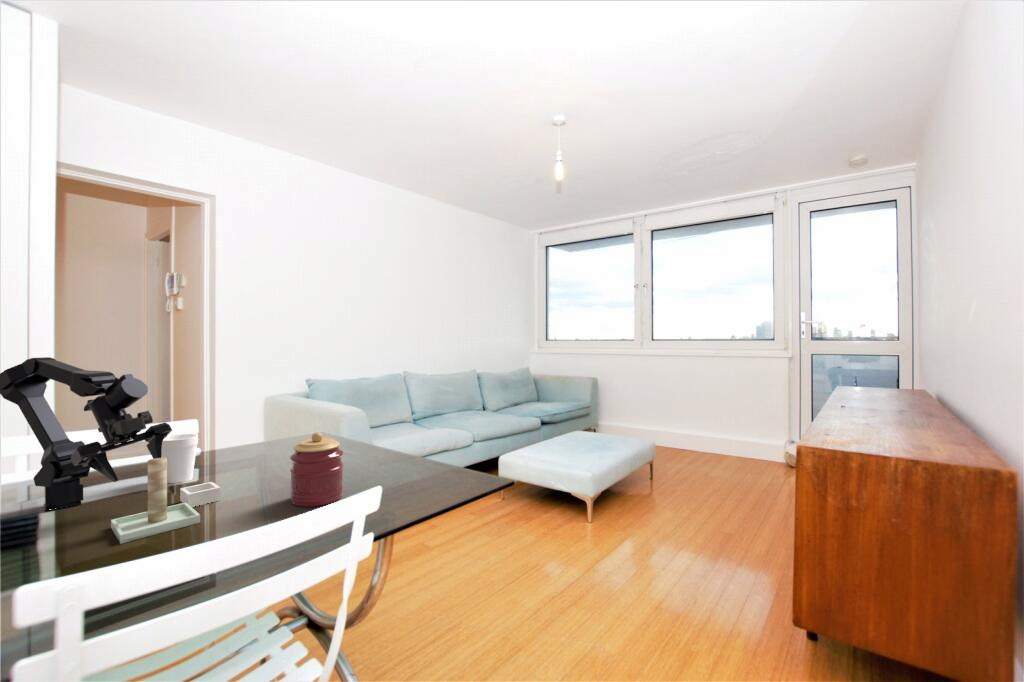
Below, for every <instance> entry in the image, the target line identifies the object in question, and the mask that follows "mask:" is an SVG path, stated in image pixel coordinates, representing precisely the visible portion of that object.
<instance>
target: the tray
mask: <svg viewBox="0 0 1024 682" xmlns="http://www.w3.org/2000/svg"><path fill="white" fill-rule="evenodd" d="M200 523H201V514H200V513H199V512H197V511H196V510H195V509H194V507H191V506H190V505H189V504H187V503H186V502H185V503H181V502H180V503H178V504H173V505H167V519H166V520H164V521H161V522H157V523H148V510H147V511H144V512H139V513H136V514H131V515H125V516H122V517H117V518H114V519H110V527H111V530H112V532H113V533H114V536H115V537H116V539H117V540H118V542H119V544H121V545H122V544H125V543H129V542H133V541H137V540H140V539H143V538H148V537H151V536H156V535H159V534H163V533H166V532H170V531H174V530H178V529H181V528H185V527H189V526H193V525H197V524H200Z"/></svg>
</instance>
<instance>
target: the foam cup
mask: <svg viewBox="0 0 1024 682" xmlns="http://www.w3.org/2000/svg"><path fill="white" fill-rule="evenodd" d="M198 444H199V434H197V433H179V434H171V435H168V436H167V437H166V438H165V439H164V440H163V442H162V458H167V484H180V482H181V483H185V481H186V482H188V480H189V481H191V480H192V479H193V476H194V468H195V464H196V463H195V462H196V457H197V456H196V455H197V448H198Z"/></svg>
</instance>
